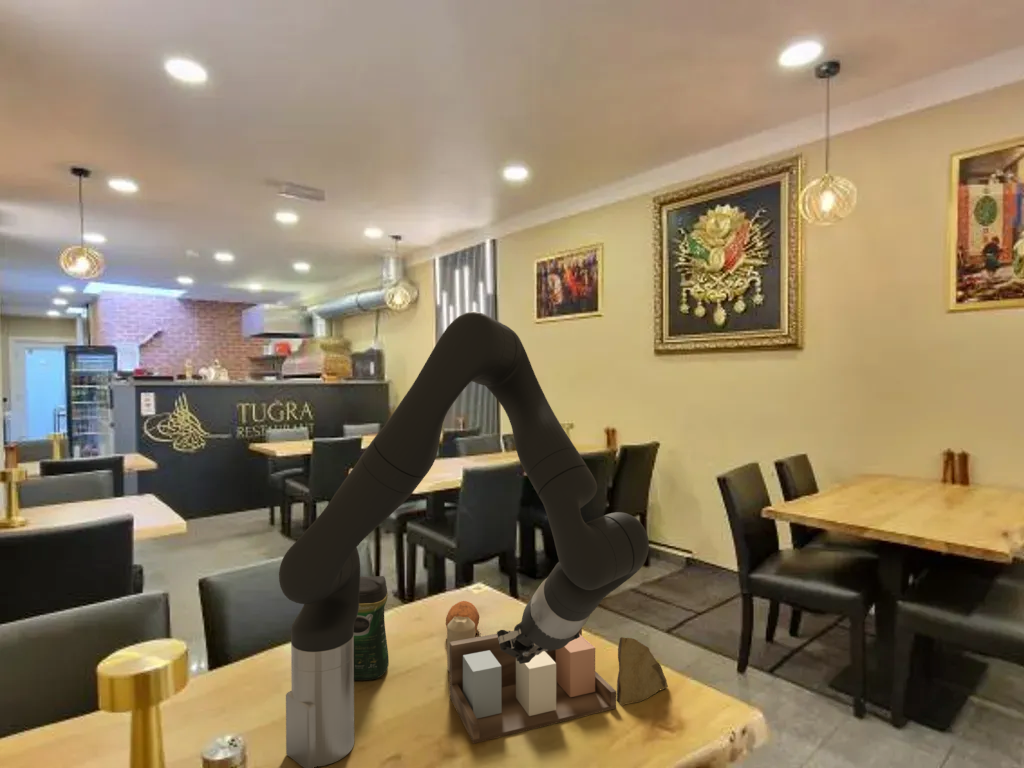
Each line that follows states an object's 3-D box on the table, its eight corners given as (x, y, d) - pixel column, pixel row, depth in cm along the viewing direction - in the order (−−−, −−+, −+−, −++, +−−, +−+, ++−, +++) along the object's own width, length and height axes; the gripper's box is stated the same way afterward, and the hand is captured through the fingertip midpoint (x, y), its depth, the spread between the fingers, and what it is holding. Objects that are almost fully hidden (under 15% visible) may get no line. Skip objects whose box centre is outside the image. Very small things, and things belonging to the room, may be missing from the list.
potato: (441, 647, 123) (441, 614, 123) (451, 621, 136) (451, 591, 136) (474, 648, 122) (474, 615, 122) (482, 622, 135) (482, 592, 135)
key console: (616, 708, 101) (616, 651, 100) (473, 743, 91) (473, 680, 91) (578, 669, 114) (578, 619, 113) (449, 697, 104) (449, 642, 104)
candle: (477, 661, 117) (477, 612, 117) (472, 676, 111) (472, 624, 111) (450, 660, 117) (450, 611, 117) (444, 674, 112) (444, 623, 112)
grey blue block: (501, 712, 98) (501, 666, 98) (473, 719, 96) (473, 671, 96) (489, 694, 103) (489, 650, 103) (462, 700, 102) (462, 655, 101)
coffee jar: (391, 661, 117) (391, 570, 116) (383, 682, 109) (383, 584, 109) (343, 662, 117) (343, 570, 116) (332, 683, 109) (331, 585, 108)
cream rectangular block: (556, 709, 99) (556, 663, 99) (529, 716, 97) (529, 668, 97) (541, 691, 104) (541, 647, 104) (515, 697, 102) (515, 652, 102)
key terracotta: (595, 691, 104) (595, 647, 104) (570, 697, 103) (570, 652, 102) (579, 675, 110) (579, 633, 110) (555, 680, 108) (555, 638, 108)
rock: (664, 663, 112) (612, 654, 112) (675, 641, 106) (620, 632, 107) (668, 723, 103) (612, 713, 104) (680, 702, 98) (621, 692, 98)
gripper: (592, 577, 83) (553, 626, 94) (505, 588, 78) (476, 638, 90) (610, 630, 78) (567, 675, 90) (519, 645, 73) (486, 690, 85)
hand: (522, 656), depth 90 cm, fingers closed
